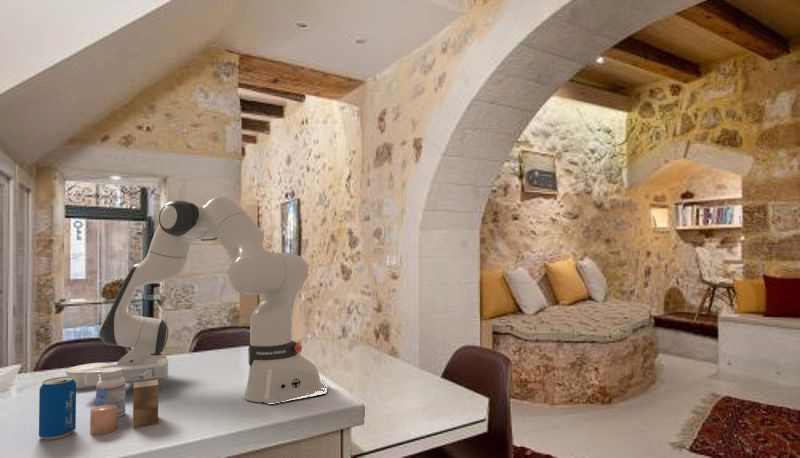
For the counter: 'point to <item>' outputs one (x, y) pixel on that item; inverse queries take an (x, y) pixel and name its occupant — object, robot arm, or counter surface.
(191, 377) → the counter surface
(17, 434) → the counter surface
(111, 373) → the pill bottle
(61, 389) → the beverage can
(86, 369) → the ramekin
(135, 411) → the walnut block
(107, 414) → the peach rounded block
